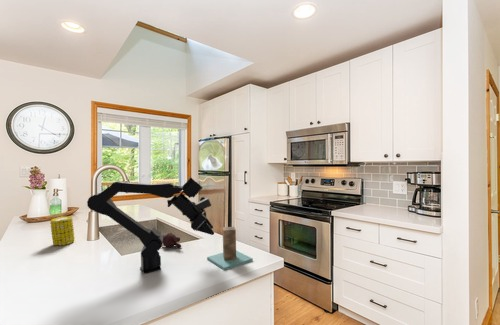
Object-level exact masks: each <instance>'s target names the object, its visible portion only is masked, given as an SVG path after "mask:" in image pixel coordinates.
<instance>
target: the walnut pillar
mask: <svg viewBox="0 0 500 325" xmlns="http://www.w3.org/2000/svg"><path fill="white" fill-rule="evenodd" d="M236 232H237V231H236V228H235V226H224V227H222V248H223V249H222V253H223V257H224V261H225V260H235V259H236V251H237V237H236V236H237V233H236Z"/></svg>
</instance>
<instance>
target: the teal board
mask: <svg viewBox="0 0 500 325" xmlns="http://www.w3.org/2000/svg"><path fill="white" fill-rule="evenodd" d="M206 259H207V260H208V261H209V262H210V263H213V265H215V266H217V267H219V268H220V269H222V270H223V271H226V270H229V269H232V268H235V267H239V266H241V265H244V264H249V263H251V262H253V261H254V259H253V257H250V256H248V255H247V254H244V253H243V252H240V251H238V250H236V259H235V260H225V261H224V257H223V252H220V253H216V254H213V255H209V256H206Z"/></svg>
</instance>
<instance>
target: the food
mask: <svg viewBox="0 0 500 325" xmlns="http://www.w3.org/2000/svg"><path fill="white" fill-rule="evenodd" d="M50 230H51V240H52V245H54V246H65V245H69V244H72V243H74V242H75V241H76V240H75V238H76V237H75V228H74V222H73V217H72V216H62V215H60V217H59V216H57V217H55V218H54V217H53V218H52V219H50Z"/></svg>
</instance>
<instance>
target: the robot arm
mask: <svg viewBox="0 0 500 325" xmlns="http://www.w3.org/2000/svg"><path fill="white" fill-rule="evenodd" d="M203 188H204V187H203V186H202V185H201V184H200V183H199V182H197V181H196V180H195V179H193V178H192V177H191V176H190V177H189V178H188V179H187V181H186V182H184V184H183V185H174V183H172V182H158V183H143V182H142V183H141V182H140V183H139V182H127V181H121V180H120V181H119V180H118V181H117V180H116V181H114V182H112V184H111V185H109V186H108V187H106V188H105V189H104V190H102V191H101V192H98V193H96V194H95V193H94V194H93V195H91V196H90V197H88V199H87V202H86V203H87V204H86V206H87V208H88V209H90V210H91V211H93V212H96V213H98V214H100V215H103V216H106V217H109V218H110V219H111V220H112V221H114V222H115V223H117V224H118V225H120V226H121V227H122V228H124V229H125V230H126V231H128V232H130V233H131V234H132V235H134V236H136V237H137V238H138V239H139V240H140V242H141V243H142V244H143V246H142V249H141V251H140V267H139V269H140V270H141V271H142V274H148V273H151V272H155V271H158V270H161V269H162V267H161V265H162V261H161V260H162V259H161V255H160V252H159V251H160V250H161V249H162V246H163V235H162V232H161V231H159V230H157V229H156V228H155V227H154V226H152V227H151V228H147V227H145V225H144V226H143V224H141V223H140V222H138V221H137V220H135V218H133V217H131V216H130V215H129V214H127V213H126V212H124V211H123V210H122V209H120V208H119V207H118V206H117V205H116V204H115V203H114V201H113V200H112V198H114V196H116V195H117V194H118V193H127V194H128V193H129V194H147V195H152V196H153V195H154V196H156V197H160V198H164V199H167V201H166V202H167V208H170V207H171V206H172V205H173V206H174V208H176V209H177V210H178V211H180V212H181V214H182V216H185V217H186V218H187V219H188V220H189V222H190V227H191V229H192V230H194V231H196V232H201V233H204V234H208V235H211V236H213V235H215V232H214V230H213V228H214V226H213V224H212V223H211V222H210V220H209V219H208V217H207V211H206V208H210V207H211V206H212V203H211V201H210V198H209V197H205V196H201V197H200V198H199V199H200V200H199V201H198V202H195V201H192V200H190V198H195V197H196V196H197V195H198V194H199V193H200V191H201V190H203ZM177 194H178V195H177Z"/></svg>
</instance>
